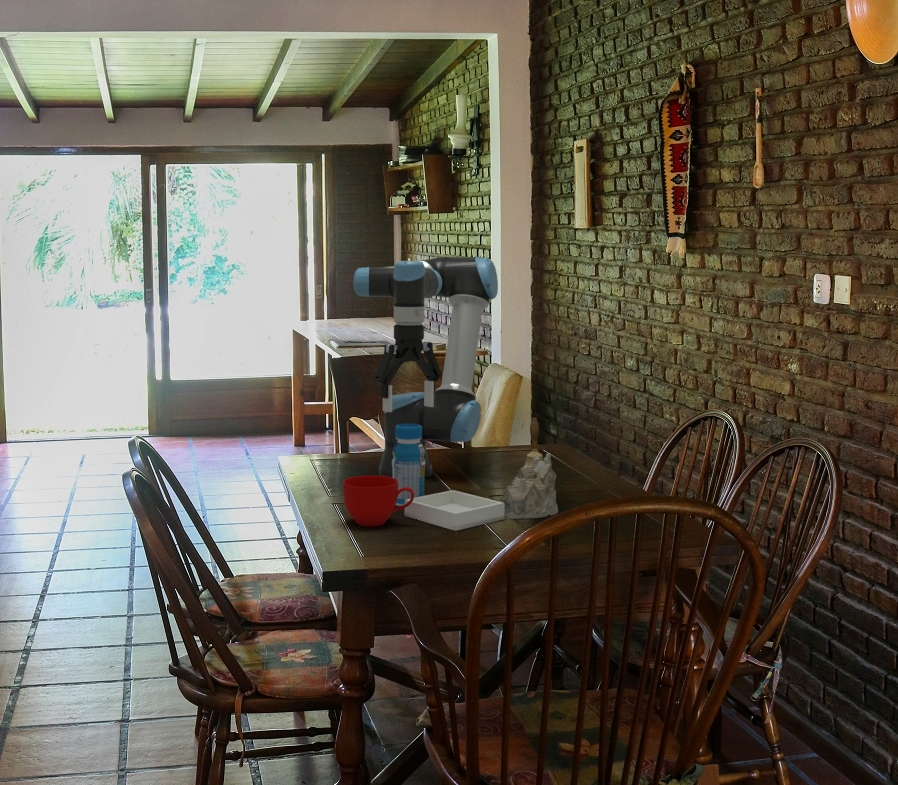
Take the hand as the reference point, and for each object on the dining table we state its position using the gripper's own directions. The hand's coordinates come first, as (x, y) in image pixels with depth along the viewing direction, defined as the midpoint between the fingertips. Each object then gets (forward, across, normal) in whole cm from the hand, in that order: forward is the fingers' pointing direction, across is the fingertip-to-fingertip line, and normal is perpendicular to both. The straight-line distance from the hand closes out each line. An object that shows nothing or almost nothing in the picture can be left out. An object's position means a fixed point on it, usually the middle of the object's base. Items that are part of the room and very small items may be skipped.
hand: (408, 409), depth 275 cm
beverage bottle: (+24, 0, 0) cm, 24 cm away
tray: (+24, -1, -18) cm, 30 cm away
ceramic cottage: (+25, +18, -24) cm, 39 cm away
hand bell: (+24, +52, +5) cm, 58 cm away
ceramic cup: (+25, -18, -10) cm, 32 cm away
